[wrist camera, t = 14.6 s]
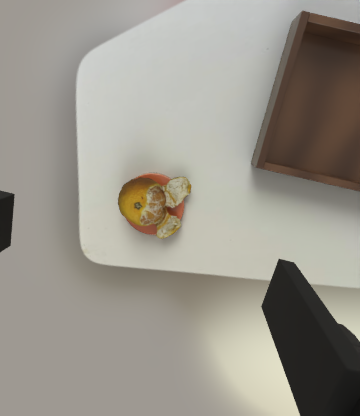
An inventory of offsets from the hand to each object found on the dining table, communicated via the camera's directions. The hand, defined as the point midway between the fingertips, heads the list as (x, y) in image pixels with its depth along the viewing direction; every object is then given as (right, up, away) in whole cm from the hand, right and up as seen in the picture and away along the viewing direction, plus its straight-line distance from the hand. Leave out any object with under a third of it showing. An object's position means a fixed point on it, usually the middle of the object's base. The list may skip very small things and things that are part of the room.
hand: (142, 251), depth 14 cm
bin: (+24, +12, +19) cm, 33 cm away
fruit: (-1, +2, +23) cm, 23 cm away
